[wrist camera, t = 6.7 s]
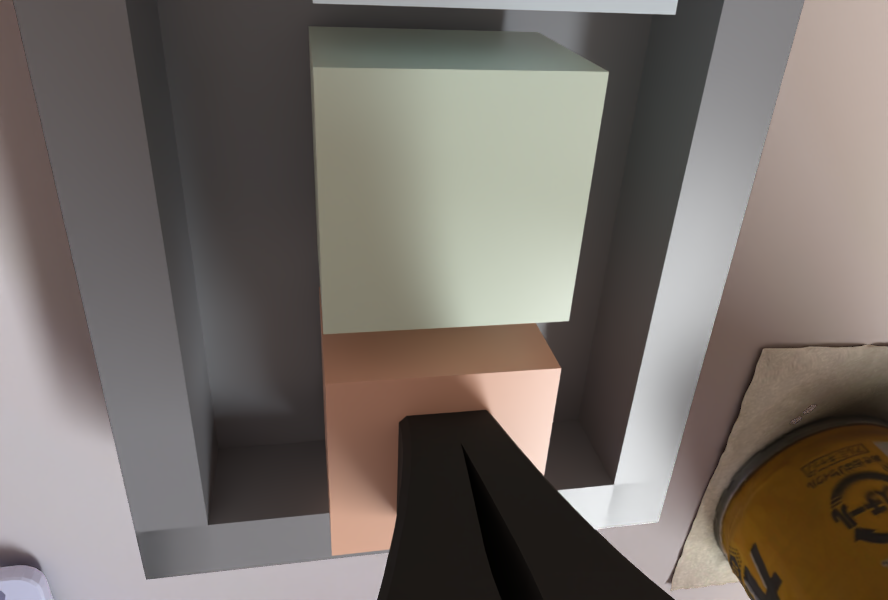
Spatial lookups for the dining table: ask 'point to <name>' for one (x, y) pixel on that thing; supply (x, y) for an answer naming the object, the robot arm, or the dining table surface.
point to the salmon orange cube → (421, 408)
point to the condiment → (800, 483)
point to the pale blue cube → (533, 5)
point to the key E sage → (449, 175)
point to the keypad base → (296, 254)
